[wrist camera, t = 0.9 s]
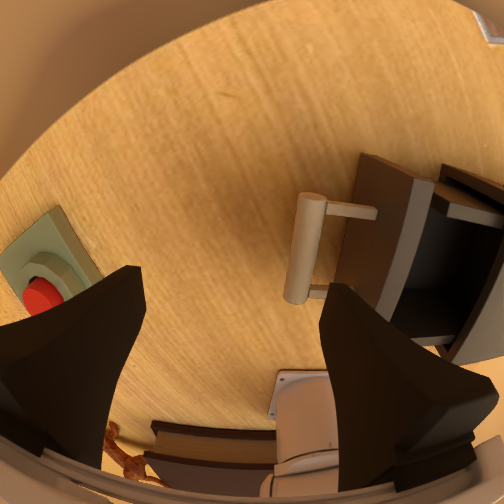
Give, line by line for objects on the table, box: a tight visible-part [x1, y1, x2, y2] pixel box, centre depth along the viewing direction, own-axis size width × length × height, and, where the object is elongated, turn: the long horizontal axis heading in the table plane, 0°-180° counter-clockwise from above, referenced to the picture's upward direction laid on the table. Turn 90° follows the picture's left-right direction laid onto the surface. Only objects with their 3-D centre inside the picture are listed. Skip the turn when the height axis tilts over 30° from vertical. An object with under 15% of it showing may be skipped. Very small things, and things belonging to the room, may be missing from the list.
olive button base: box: [0, 205, 104, 314], centre depth 20 cm, size 11×9×4 cm
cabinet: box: [434, 164, 504, 366], centre depth 16 cm, size 13×12×9 cm
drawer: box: [283, 153, 504, 346], centre depth 16 cm, size 16×10×7 cm, turn 85°
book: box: [143, 421, 279, 497], centre depth 36 cm, size 28×20×6 cm
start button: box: [22, 277, 64, 316], centre depth 18 cm, size 4×4×2 cm
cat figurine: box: [103, 422, 174, 489], centre depth 34 cm, size 18×7×14 cm
